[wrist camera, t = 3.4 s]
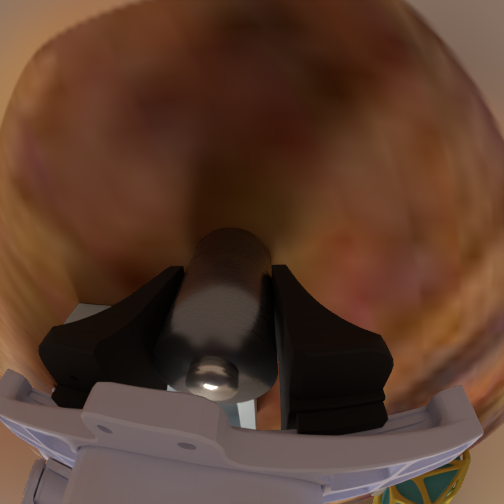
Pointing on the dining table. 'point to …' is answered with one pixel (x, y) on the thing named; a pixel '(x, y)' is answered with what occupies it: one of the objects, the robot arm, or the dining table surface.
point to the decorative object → (428, 485)
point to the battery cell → (222, 322)
